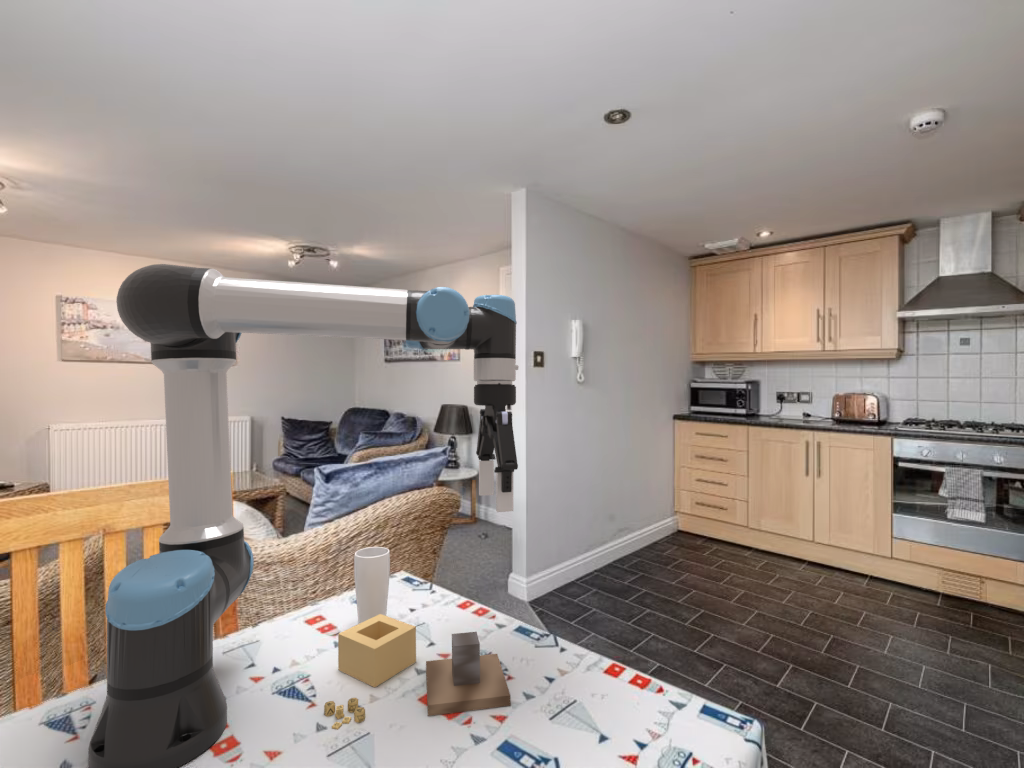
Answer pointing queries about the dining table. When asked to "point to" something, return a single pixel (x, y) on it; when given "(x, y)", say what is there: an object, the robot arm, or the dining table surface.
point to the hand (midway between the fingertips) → (494, 502)
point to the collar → (376, 649)
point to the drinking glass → (371, 581)
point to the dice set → (352, 708)
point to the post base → (468, 692)
